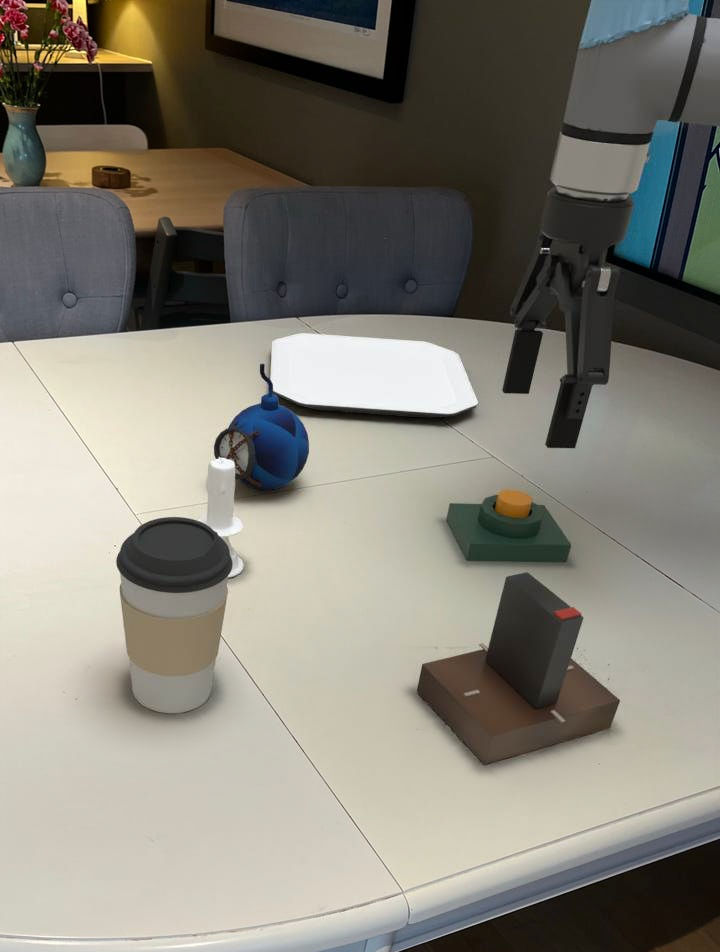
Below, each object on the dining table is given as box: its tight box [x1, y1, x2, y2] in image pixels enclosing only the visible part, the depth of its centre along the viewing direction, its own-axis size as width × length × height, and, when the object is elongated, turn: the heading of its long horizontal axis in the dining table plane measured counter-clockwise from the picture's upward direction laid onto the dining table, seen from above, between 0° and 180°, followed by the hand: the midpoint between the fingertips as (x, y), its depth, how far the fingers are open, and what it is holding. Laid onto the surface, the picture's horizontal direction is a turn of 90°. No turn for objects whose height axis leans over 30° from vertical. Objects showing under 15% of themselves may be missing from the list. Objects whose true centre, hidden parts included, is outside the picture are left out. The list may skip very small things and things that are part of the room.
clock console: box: [416, 642, 621, 765], centre depth 84 cm, size 13×11×3 cm
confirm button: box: [495, 489, 533, 518], centre depth 106 cm, size 4×4×2 cm
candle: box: [196, 457, 245, 579], centre depth 97 cm, size 5×5×12 cm
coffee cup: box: [115, 516, 233, 714], centre depth 80 cm, size 9×9×15 cm
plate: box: [269, 332, 479, 419], centre depth 145 cm, size 29×29×2 cm
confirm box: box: [445, 494, 572, 563], centre depth 108 cm, size 11×9×4 cm
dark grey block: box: [485, 571, 584, 708], centre depth 80 cm, size 7×2×9 cm, turn 24°
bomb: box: [213, 363, 310, 491], centre depth 112 cm, size 10×11×15 cm
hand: (536, 418), depth 99 cm, fingers open, 13 cm apart
